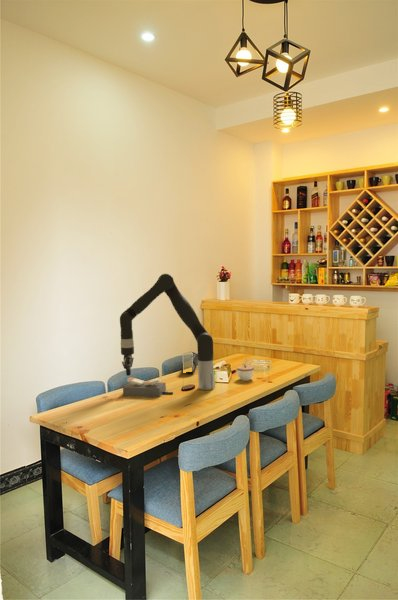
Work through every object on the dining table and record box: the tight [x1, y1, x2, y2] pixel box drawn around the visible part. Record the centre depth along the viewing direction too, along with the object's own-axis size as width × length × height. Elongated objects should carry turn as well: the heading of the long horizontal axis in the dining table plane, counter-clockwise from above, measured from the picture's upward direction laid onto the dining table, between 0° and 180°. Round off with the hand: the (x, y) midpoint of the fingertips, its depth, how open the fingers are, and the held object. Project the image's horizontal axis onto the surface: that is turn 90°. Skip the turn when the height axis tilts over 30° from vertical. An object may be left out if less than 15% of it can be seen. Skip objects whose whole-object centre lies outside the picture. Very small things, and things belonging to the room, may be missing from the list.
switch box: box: [122, 381, 174, 398], centre depth 264 cm, size 28×12×5 cm, turn 78°
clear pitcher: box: [181, 351, 198, 373], centre depth 318 cm, size 10×28×10 cm, turn 174°
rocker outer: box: [126, 376, 146, 385], centre depth 265 cm, size 9×6×2 cm, turn 78°
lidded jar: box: [236, 364, 255, 382], centre depth 287 cm, size 11×11×9 cm
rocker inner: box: [144, 377, 162, 385], centre depth 263 cm, size 9×6×2 cm, turn 77°
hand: (128, 375), depth 266 cm, fingers closed
